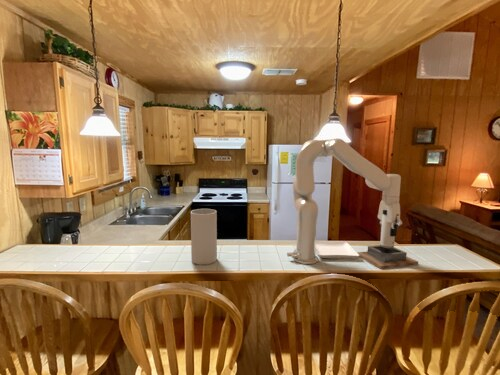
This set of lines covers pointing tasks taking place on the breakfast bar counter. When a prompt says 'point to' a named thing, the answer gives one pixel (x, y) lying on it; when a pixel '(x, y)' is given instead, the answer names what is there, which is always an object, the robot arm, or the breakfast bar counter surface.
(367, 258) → the walnut board
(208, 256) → the cylinder vase
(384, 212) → the travel mug
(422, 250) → the breakfast bar counter surface
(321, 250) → the salad plate
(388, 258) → the metal collar
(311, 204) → the robot arm
